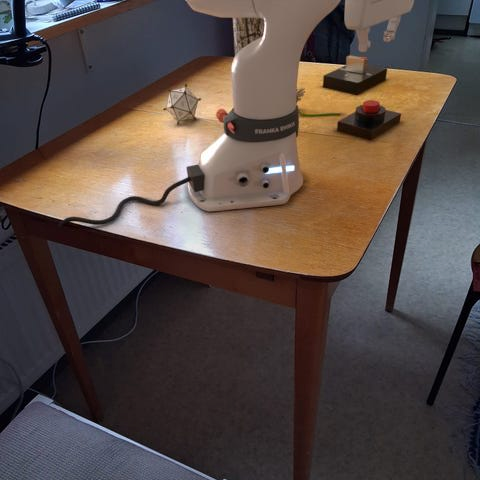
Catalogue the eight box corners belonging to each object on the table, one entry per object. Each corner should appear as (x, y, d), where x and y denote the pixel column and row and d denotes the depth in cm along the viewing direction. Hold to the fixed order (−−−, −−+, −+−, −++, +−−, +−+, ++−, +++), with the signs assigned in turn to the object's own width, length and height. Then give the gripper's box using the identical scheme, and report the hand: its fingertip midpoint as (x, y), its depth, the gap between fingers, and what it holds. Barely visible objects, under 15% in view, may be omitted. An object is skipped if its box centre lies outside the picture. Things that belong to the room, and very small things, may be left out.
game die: (179, 137, 122) (149, 106, 116) (194, 113, 125) (165, 82, 119) (199, 126, 115) (168, 93, 110) (214, 101, 118) (185, 68, 112)
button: (372, 115, 106) (373, 107, 105) (359, 111, 108) (359, 103, 107) (381, 110, 108) (382, 102, 107) (368, 106, 110) (369, 98, 109)
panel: (356, 95, 126) (358, 82, 123) (322, 87, 131) (323, 74, 129) (385, 80, 132) (387, 67, 130) (352, 73, 138) (353, 61, 136)
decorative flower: (341, 80, 113) (278, 84, 114) (342, 107, 113) (278, 110, 114) (337, 97, 121) (277, 100, 122) (338, 122, 121) (278, 125, 122)
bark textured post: (265, 131, 112) (262, 5, 95) (236, 130, 113) (228, 6, 96) (269, 120, 117) (267, -2, 100) (242, 119, 118) (235, -1, 101)
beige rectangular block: (345, 70, 131) (346, 55, 128) (348, 69, 132) (350, 54, 129) (362, 74, 128) (364, 58, 125) (365, 72, 129) (367, 57, 126)
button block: (370, 140, 105) (373, 122, 102) (336, 130, 110) (338, 113, 107) (399, 123, 111) (402, 105, 108) (366, 114, 116) (368, 97, 113)
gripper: (400, -45, 97) (389, 33, 106) (341, -30, 87) (335, 55, 96) (429, -44, 94) (415, 36, 103) (372, -28, 83) (362, 60, 93)
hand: (376, 45), depth 99 cm, fingers open, 8 cm apart
